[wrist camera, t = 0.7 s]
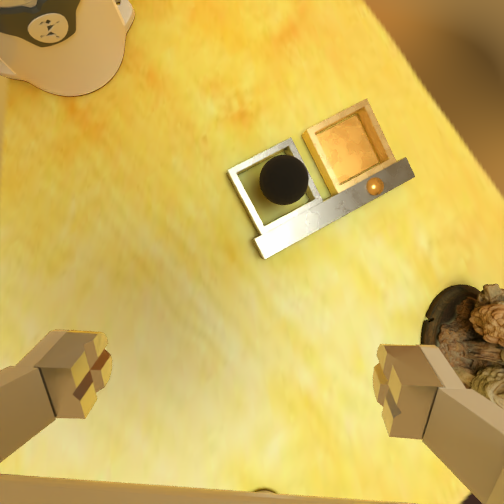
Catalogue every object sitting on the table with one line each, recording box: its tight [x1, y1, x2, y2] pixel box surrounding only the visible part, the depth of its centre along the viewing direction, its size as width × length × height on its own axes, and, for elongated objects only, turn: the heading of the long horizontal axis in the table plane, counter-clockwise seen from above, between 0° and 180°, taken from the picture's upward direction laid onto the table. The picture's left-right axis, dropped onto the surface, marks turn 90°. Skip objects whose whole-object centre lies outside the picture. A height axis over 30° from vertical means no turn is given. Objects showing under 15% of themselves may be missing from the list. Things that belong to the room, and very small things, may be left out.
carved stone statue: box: [421, 284, 504, 409], centre depth 43 cm, size 18×12×17 cm, turn 1°
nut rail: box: [227, 99, 415, 259], centre depth 46 cm, size 13×24×3 cm, turn 119°
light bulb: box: [260, 155, 309, 205], centre depth 42 cm, size 6×6×10 cm
